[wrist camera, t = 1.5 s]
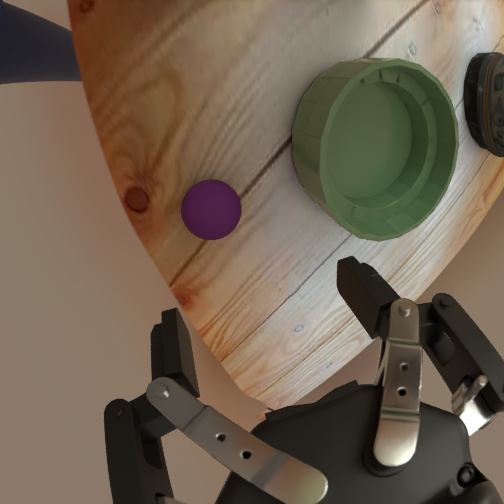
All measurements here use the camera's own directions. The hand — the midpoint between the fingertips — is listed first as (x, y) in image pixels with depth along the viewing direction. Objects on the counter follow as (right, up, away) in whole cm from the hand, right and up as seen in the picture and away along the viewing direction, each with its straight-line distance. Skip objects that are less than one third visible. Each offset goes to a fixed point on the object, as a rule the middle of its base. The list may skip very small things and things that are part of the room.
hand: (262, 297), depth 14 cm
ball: (-4, +6, +10) cm, 12 cm away
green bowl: (+11, +14, +13) cm, 22 cm away
